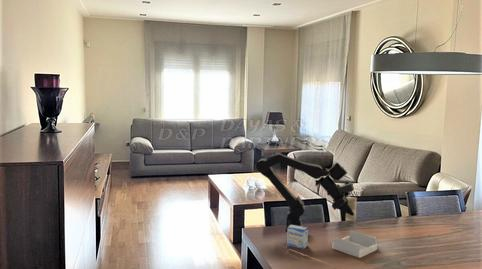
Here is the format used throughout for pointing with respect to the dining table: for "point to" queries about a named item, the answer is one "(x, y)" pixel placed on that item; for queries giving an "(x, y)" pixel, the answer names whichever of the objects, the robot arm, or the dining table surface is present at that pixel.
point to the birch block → (349, 218)
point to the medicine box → (297, 236)
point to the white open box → (355, 244)
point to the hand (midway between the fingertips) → (353, 213)
